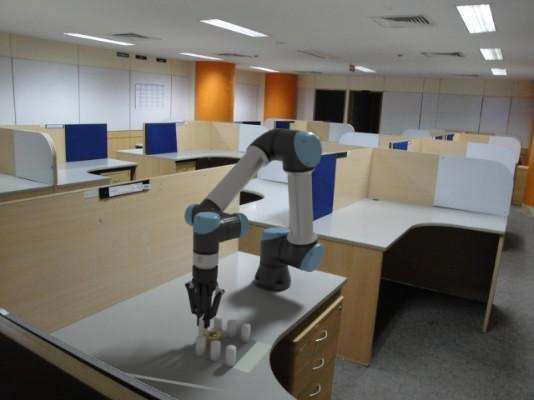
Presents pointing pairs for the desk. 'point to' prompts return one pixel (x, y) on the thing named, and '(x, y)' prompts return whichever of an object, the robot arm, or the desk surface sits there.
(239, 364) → the spacer field
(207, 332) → the nut
